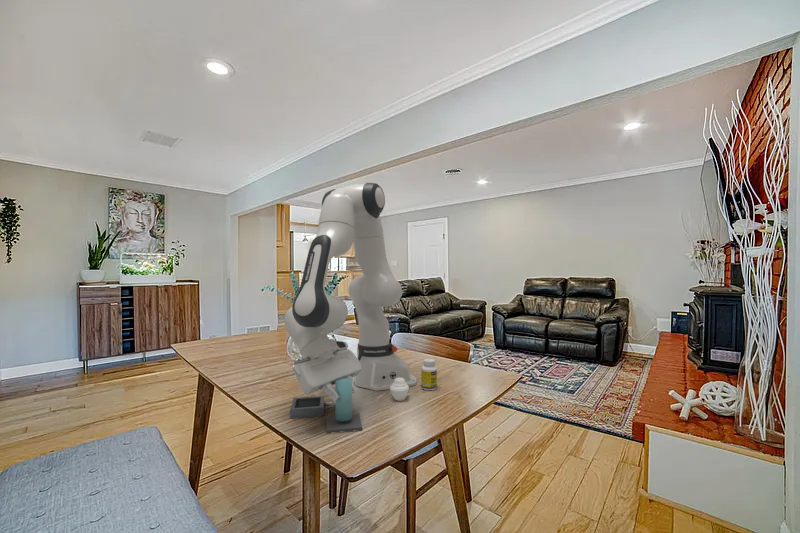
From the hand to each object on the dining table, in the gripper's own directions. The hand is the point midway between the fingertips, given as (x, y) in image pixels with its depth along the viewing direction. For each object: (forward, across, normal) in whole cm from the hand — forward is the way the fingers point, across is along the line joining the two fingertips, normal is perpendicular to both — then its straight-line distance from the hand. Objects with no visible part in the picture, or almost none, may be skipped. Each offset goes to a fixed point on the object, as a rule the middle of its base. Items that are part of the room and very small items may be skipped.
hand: (345, 396), depth 94 cm
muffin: (+7, +23, +5) cm, 25 cm away
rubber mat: (+5, 0, +6) cm, 8 cm away
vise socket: (-4, +3, +15) cm, 16 cm away
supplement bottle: (+9, +37, +3) cm, 38 cm away
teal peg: (+4, 0, +5) cm, 6 cm away
